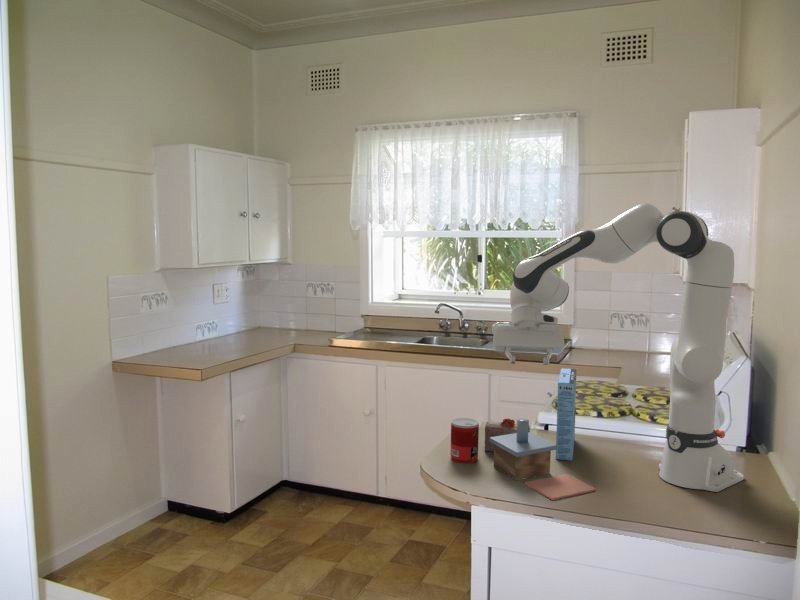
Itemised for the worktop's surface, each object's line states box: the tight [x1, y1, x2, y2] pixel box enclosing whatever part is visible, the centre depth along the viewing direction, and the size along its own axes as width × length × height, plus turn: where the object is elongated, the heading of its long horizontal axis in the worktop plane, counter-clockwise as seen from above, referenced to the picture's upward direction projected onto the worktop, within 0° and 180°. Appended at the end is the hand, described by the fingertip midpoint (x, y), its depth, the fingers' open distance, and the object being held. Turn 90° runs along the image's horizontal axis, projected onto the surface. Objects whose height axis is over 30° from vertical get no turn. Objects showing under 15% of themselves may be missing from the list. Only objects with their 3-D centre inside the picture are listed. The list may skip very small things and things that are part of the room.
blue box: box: [555, 368, 577, 462], centre depth 196 cm, size 20×5×23 cm, turn 163°
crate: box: [493, 444, 552, 481], centre depth 181 cm, size 11×11×7 cm
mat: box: [524, 473, 597, 501], centre depth 170 cm, size 14×11×1 cm
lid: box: [489, 418, 556, 457], centre depth 180 cm, size 13×13×8 cm
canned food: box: [450, 417, 480, 464], centre depth 189 cm, size 8×8×11 cm
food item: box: [483, 417, 531, 453], centre depth 195 cm, size 14×8×10 cm, turn 75°
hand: (529, 363), depth 183 cm, fingers open, 8 cm apart
